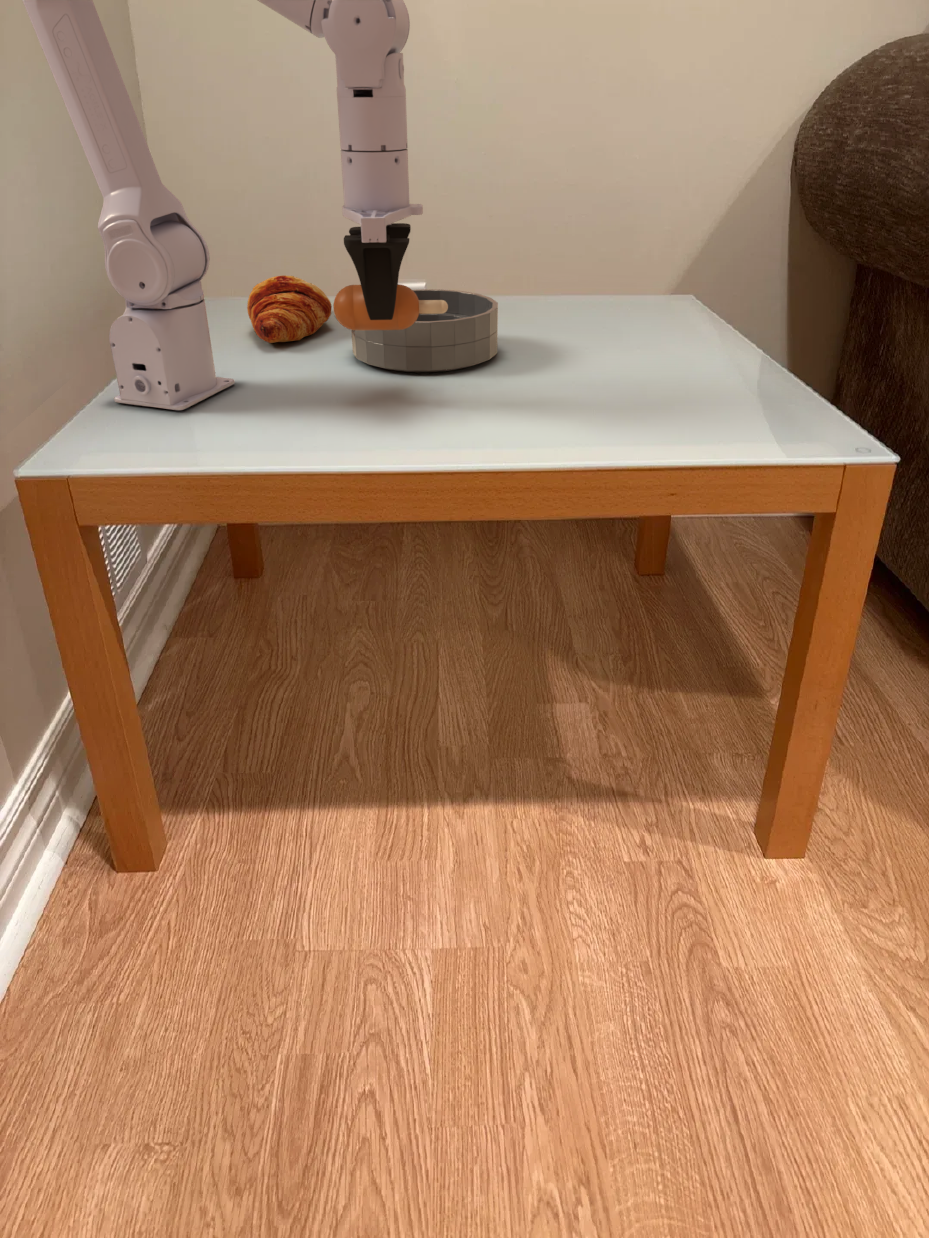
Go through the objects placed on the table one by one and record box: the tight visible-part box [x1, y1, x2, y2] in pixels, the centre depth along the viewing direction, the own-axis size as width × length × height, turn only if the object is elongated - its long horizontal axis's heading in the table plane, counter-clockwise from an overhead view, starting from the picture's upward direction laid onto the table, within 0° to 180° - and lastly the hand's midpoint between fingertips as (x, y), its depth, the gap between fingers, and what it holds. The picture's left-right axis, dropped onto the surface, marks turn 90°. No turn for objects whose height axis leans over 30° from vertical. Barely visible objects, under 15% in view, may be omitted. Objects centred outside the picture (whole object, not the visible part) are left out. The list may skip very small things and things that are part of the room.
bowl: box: [350, 288, 499, 373], centre depth 103 cm, size 16×16×6 cm
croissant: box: [246, 275, 333, 344], centre depth 113 cm, size 21×10×8 cm, turn 178°
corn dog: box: [332, 283, 448, 330], centre depth 85 cm, size 11×4×4 cm, turn 92°
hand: (382, 313), depth 85 cm, fingers closed on corn dog, 4 cm apart
